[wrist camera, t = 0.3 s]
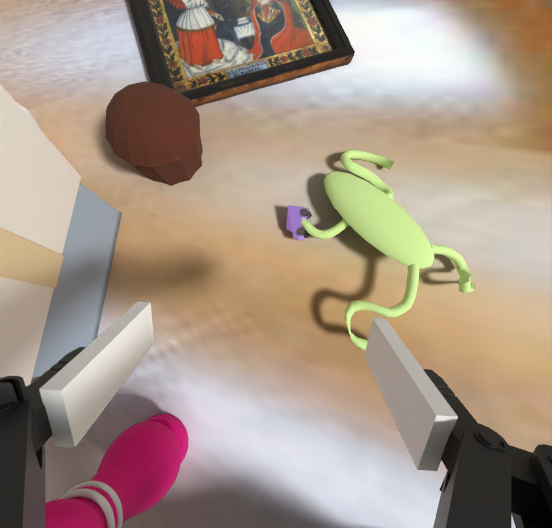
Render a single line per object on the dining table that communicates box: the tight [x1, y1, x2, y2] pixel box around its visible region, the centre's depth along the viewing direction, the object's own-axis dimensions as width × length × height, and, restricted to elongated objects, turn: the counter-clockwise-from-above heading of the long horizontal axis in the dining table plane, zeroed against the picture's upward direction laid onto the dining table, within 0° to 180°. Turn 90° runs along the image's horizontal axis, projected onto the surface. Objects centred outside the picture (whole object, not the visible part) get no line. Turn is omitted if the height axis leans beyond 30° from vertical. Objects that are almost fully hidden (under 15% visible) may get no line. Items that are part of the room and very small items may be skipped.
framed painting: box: [128, 0, 355, 107], centre depth 44 cm, size 38×35×3 cm
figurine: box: [286, 150, 475, 351], centre depth 33 cm, size 18×27×6 cm
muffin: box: [106, 82, 202, 186], centre depth 34 cm, size 12×11×10 cm
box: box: [32, 184, 121, 378], centre depth 30 cm, size 20×14×9 cm
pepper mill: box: [45, 414, 188, 528], centre depth 21 cm, size 7×7×20 cm
